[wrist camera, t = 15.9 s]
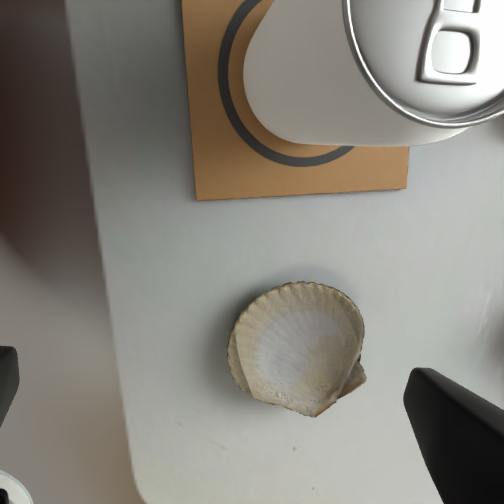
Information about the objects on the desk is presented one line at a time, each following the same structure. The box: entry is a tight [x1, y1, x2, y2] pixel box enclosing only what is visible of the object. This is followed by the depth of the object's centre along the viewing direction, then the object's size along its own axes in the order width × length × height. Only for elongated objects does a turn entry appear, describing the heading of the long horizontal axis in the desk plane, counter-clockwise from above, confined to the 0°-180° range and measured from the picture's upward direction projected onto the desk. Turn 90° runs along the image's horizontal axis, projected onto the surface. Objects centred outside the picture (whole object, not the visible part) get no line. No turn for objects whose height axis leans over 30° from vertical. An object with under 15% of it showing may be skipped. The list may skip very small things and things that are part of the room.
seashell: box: [227, 281, 367, 417], centre depth 23 cm, size 8×3×8 cm
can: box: [243, 0, 504, 146], centre depth 14 cm, size 6×6×12 cm
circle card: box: [181, 0, 410, 201], centre depth 20 cm, size 12×12×1 cm
